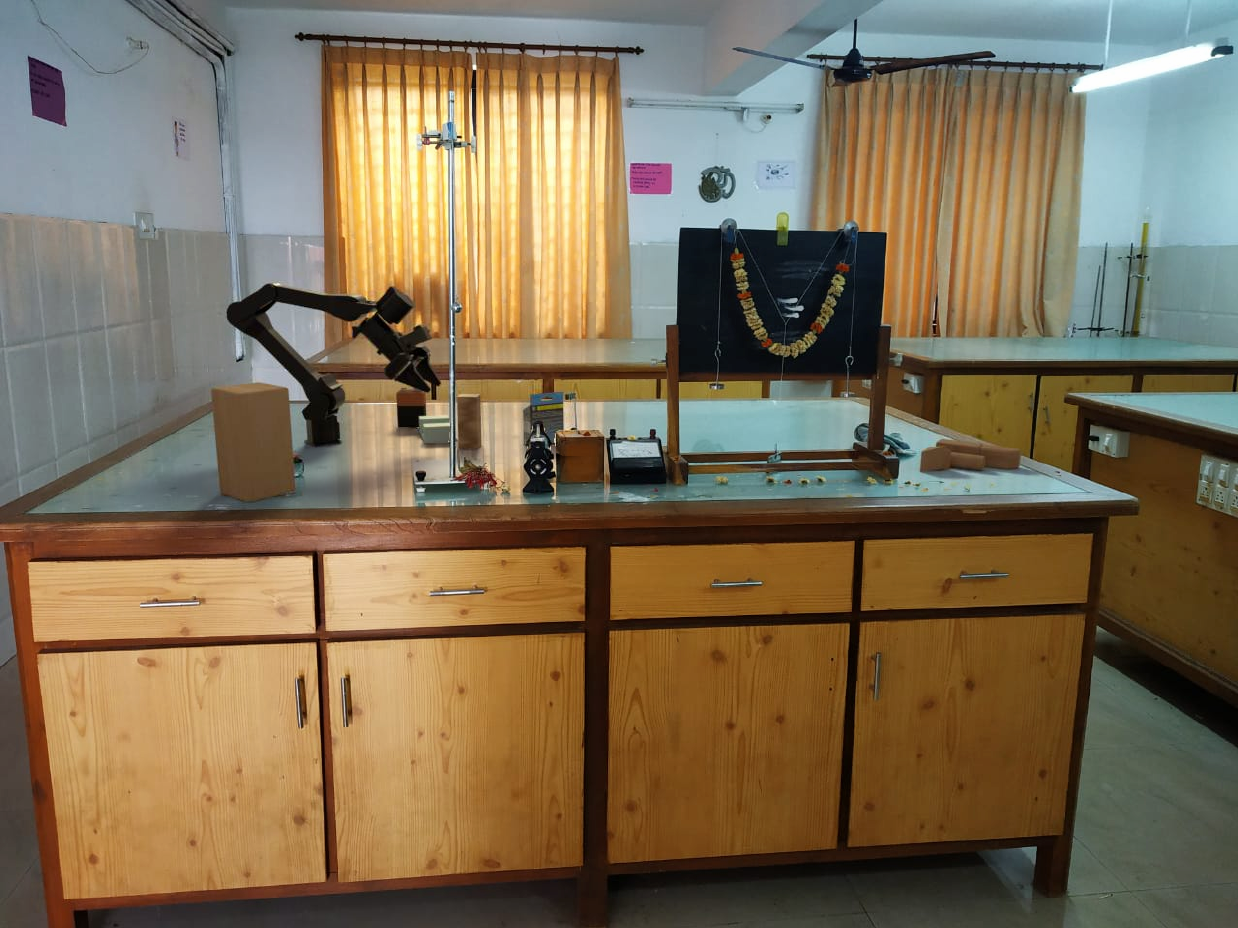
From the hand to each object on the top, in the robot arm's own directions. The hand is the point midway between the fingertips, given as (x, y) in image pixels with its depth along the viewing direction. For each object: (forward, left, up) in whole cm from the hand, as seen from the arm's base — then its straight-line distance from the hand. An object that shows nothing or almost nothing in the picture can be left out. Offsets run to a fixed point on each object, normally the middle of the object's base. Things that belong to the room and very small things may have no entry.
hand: (434, 388), depth 216 cm
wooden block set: (+77, -89, -14) cm, 119 cm away
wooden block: (-47, -15, -14) cm, 51 cm away
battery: (+7, +24, -14) cm, 28 cm away
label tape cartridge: (+21, -13, -14) cm, 28 cm away
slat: (+5, -6, -13) cm, 16 cm away
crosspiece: (+5, +8, -13) cm, 17 cm away
